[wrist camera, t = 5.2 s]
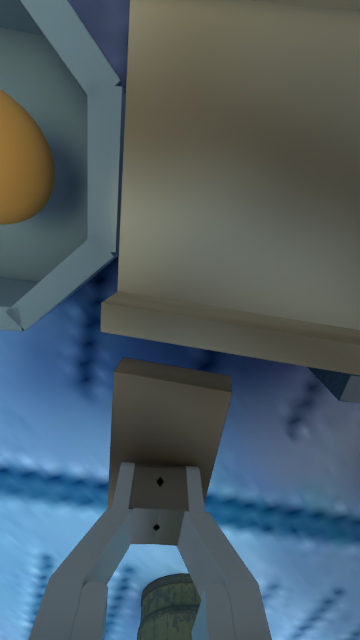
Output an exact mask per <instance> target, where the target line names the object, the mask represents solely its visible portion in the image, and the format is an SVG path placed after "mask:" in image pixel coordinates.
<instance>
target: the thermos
mask: <svg viewBox="0 0 360 640" xmlns="http://www.w3.org/2000/svg"><path fill="white" fill-rule="evenodd" d="M200 603H201V598H200V596H199V593H198V591H197V589H196V587H195V585H194V583H193V580H192V578H191V576H190V574H177V575H169V576H166V577H163V578H160V579H157V580H155V581H154V582H152V583H150V584H149V585H148V586H147V587H146V588H145V589H144V591H143V594H142V601H141V607H142V610H141V623H140V627H139V629H138V634H137V640H192V629H193V625H194V622H195V619H196V616H197V613H198V609H199V606H200Z"/></svg>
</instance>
